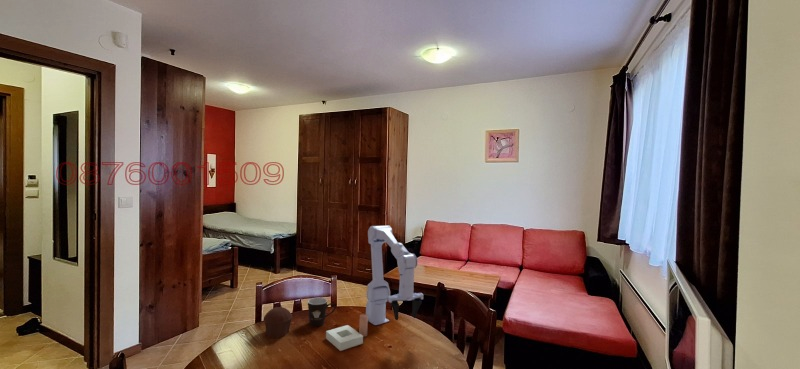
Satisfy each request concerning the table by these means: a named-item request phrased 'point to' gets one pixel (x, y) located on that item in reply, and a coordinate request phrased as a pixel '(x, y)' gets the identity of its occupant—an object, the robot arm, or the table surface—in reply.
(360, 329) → the dowel
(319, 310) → the coffee mug
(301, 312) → the table surface
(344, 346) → the socket block
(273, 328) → the muffin
